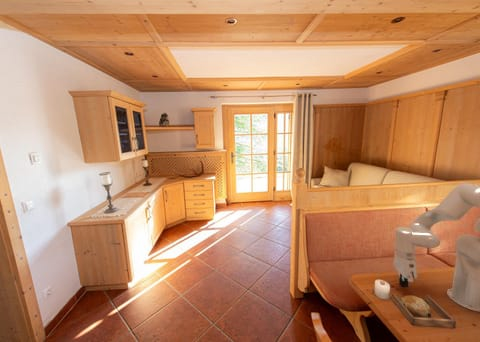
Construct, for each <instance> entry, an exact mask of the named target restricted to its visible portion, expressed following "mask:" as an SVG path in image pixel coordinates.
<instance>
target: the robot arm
mask: <svg viewBox="0 0 480 342" xmlns="http://www.w3.org/2000/svg"><path fill="white" fill-rule="evenodd" d="M473 207H475V208H479V209H480V185H478V184H475V183H470V182H469V183H468V182H464V183H459V184H457V186H455V187H454V188H453V189H452V190H451V192H450V193H449V194H447V195H446V196H445V198H444V199H442V201H441V202H440V203H439V204H438V205H437V206H436V207H434V208H432V209H430V210H428V211H425V212H423V213H421V214H419V215H418V216H416V218H415V219H414V220H413V221H412V222H411V223H410V225H409V227H406V226H405V227H404V226H398V227H396V228H395V230H394V231H395V232H394V255H393V256H394V257H393V267H394V268H395V270H396V271H397V273H398V277H399V280H398V285H399V286H400V287H401V288H409V283H414V280H417V278H418V267H417V266H418V265H417V260H416V255H415V254H416V246H417V247H421V248H425V249H435V248H437V247H439V246H440V245H441V240H440V237H439V236H438V235H436V234H435V233H434V232H433V231H431V228H432V227H433V226H434V225H436V224H438V223H440V222H441V223H442V222H446V221H447V222H451V221H453V222H457V221H460V220H462V218H463V217H464V216H465V215H466V214H468V212H469V211H470V210H471V209H472V208H473ZM473 229H474V231H475V232H476V233H477V234H479V235H480V217H479V218H478V219H476V221H475V223H474V225H473ZM454 247H455V248H454V249H455V267H454V273H453V281H452V288H448V289H447V290H446V294H447V296H448V298H449V299H450V300H452V301H453V302H454V303H455V304H457V305H459V306H461V307H463V308H465V309H469V310H471V311H474V312H480V237H478V236H476V235H472V234H463V235H460V236H458V237H457V239H456V240H455V243H454Z"/></svg>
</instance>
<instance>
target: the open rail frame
mask: <svg viewBox="0 0 480 342" xmlns="http://www.w3.org/2000/svg"><path fill="white" fill-rule="evenodd" d="M390 298H391V300H392V301H393V302H394V304H395V305H396V307H397V308H398V309H399V310H400V311H401V313H402V314H403V315H404V316H405V318H406V319H407V320H408V321H409V323H410V324H411V325H412V326H419V325H420V326H421V327H423V326H424V327H434V326H436V327H437V328H447V329H448V328H450V329H455V328H456V326H457V325H456V323H457V321H456V320H455V319H454V318H453V317H452V316H451V315H450V314H449V313H448V312H447V311H446V310H444V308H442V307H441V306H440V304H438V303H437V302H436V301H435V300H434V299H433V298H432V297H431V296H430V295H429V294H425V302H426V303H427V304H428V305H429V306H430V307H431V308H432V309H433V310H435V312H436V313H438V314H439V315H440V317H441V318H436V317H435V318H434V317H433V318H432V317H431V318H430V317H429V318H419V317H413V316H412V314H411V313H410V312H409V311H408V310H407V308H406V307H405V306H404V305H403V304H402V302H401V299H400V298H398V297H397V295H396V294H395V293H394V292H391V297H390Z"/></svg>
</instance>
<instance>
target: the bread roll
mask: <svg viewBox="0 0 480 342" xmlns="http://www.w3.org/2000/svg"><path fill="white" fill-rule="evenodd" d="M400 301H401V302H402V304H403V305H404V306H405V307H406V308H407V310H408V311H409V312H410V313H411V314H412V316H413V317H419V318H430V317H431V314H432V309H431V306H430V304H429V303H428V302H427V301H426V300H424V299H423V298H421V297H417V296H416V295H405V296H402V297H400Z"/></svg>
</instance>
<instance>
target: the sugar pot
mask: <svg viewBox="0 0 480 342" xmlns="http://www.w3.org/2000/svg"><path fill="white" fill-rule="evenodd" d="M390 291H391V284H389V283H388V282H387V281H385V280H382V279H375V280H374V295H375V296H376V297H377V298H379V299H381V300H383V301H384V300H385V301H386V300H389V299H390V293H391V292H390Z"/></svg>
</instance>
